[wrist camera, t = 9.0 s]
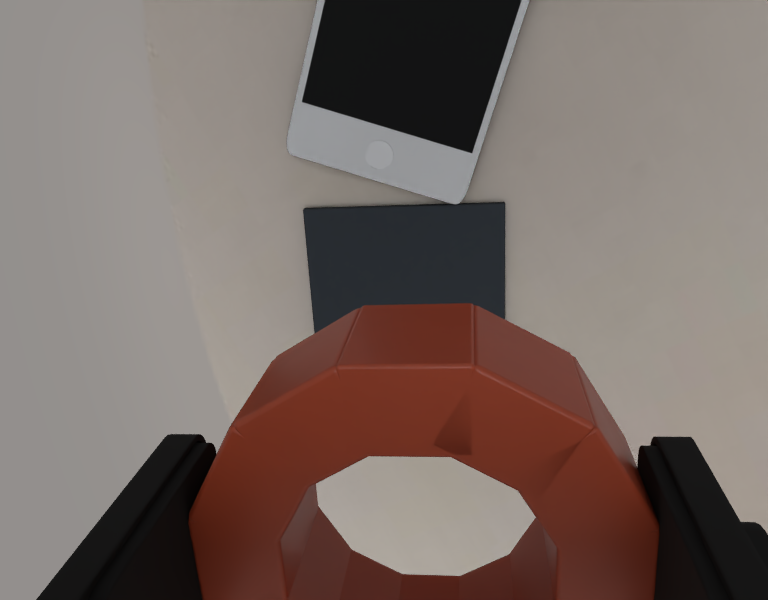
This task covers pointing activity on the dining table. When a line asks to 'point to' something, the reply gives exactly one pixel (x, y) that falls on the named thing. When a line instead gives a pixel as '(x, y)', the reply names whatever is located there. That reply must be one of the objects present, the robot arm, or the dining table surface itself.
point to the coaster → (405, 257)
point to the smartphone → (403, 89)
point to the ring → (424, 439)
